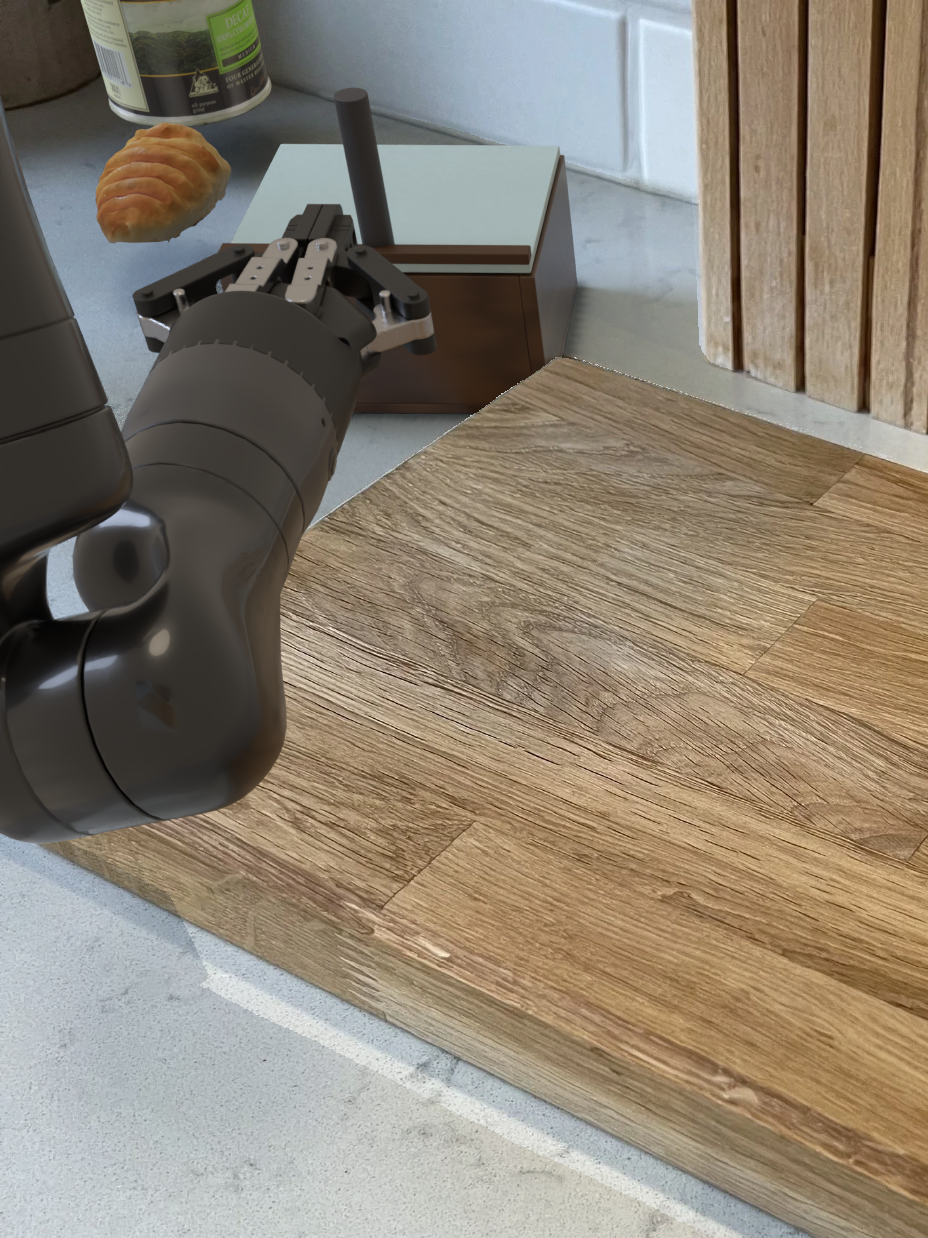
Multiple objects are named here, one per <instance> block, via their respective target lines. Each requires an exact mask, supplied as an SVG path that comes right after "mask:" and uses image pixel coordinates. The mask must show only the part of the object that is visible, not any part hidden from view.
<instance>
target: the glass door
mask: <svg viewBox="0 0 928 1238" xmlns="http://www.w3.org/2000/svg"><path fill="white" fill-rule="evenodd" d="M333 100H334V106H335V111H336V117H337V121H338V126H339V133H340V135H341V136H340V137H341V141H342V142H341V144H340V143H339V144H335V143H333V144H332V143H331V144H327V143H326V144H325V143H320V144H319V143H281V144H280V145H279V147H278V149H277V150H276V153H275V155H274V156H273V158H272V161H271V162H270V164H269V167H268V168H267V171H266V172H265V174H264V176H263V179H262V180H261V182H260V184H259V186H258V188H257V190H256V192H255V194H254V196H253V198H252V200H251V202H250V204H249V206H248V208H247V210H246V212H245V213H244V216H243V218H242V220H241V222H240V224H239V226H238V228H237V230H236V232H235V234H234V235H233V238H232V240H231V242H223V243H221V245H220V247H219V249H218V251H217V253H218V252H221V251H223V250H225V249H227V248H229V247H232V246H235V245H249V246H251V247H253V249H254V254H257V253H263V252H265V251H266V249H267V248H268V246H269V245H270V243H271V242H272V241H274V240H277V239H280V238H282V236H283V234H284V232H285V231H286V227H287V226H288V223H289V221H290V219H292V218H293V217H294V216H296V215H297V214H303V212H304V210H305V208H306V206H307V204H340V205H341V206H342V210H343V215H351V217H352V219H353V223H354V228H355V233H356V238H357V243H358V246H369V247H372V248H373V249H374V250H376V251H377V252H378V253H379V254H381V255H382V256H383V257H384V258H385V259H387V260H388V261H389V262H390V263H392V264H393V265H394V266H395V267H396V268H398V269H399V270H400V271H401V272H448V273H531V270H532V266H533V262H534V258H535V254H536V250H537V245H538V241H539V237H540V233H541V229H542V225H543V221H544V217H545V213H546V209H547V205H548V201H549V197H550V193H551V189H552V185H553V181H554V177H555V173H556V168H557V164H558V160H559V156H560V155H561V149H560V146H559V145H498V144H497V145H491V144H490V145H486V144H485V145H481V144H480V145H479V144H478V145H477V144H475V145H474V144H471V145H470V144H469V145H468V144H467V145H466V144H454V145H453V144H378V143H377V138H376V137H377V136H376V132H375V125H374V120H373V115H372V110H371V103H370V97H369V93H368V91H367V90H365V89H363V88H359V87H346V88H342V89H339V90H337V91H335V92H334V94H333Z"/></svg>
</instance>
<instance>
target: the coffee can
mask: <svg viewBox="0 0 928 1238" xmlns="http://www.w3.org/2000/svg"><path fill="white" fill-rule="evenodd" d="M80 3H81V6H82V10H83V13H84V17H85V20H86V23H87V27H88V30H89V34H90V37H91V41H92V43H93V47H94V51H95V54H96V58H97V62H98V65H99V68H100V72H101V76H102V79H103V82H104V85H105V90H106V94H107V97H108V105H109V107H110V110H111V111H112V112H113V113H114V114H116V115H117V116H118V117H119V118H121V119H123V120H125V121H127V122H130V123H133V124H137V125H140V126H147V127H151V128H152V127H154V126H155V125H158V124H161V123H173V124H181V125H184V126H187V127H190V128H192V127H193V128H194V127H200V126H206V125H207V126H208V125H211V124H217V123H221V122H224V121H228V120H231V119H234V118H236V117H239V116H243V115H244V114H247V113H249V112H250V111H253V110H254V109H256V108H258V107H259V106H260V105H261V104H263V103H264V102H265V100H266V99H267V98H268V97H269V95H270V94H271V91H272V81H271V79H270V77H269V74H268V73H269V72H268V69H267V64H266V60H265V55H264V51H263V45H262V41H261V37H260V33H259V32H260V31H259V28H258V22H257V18H256V13H255V9H254V5H253V0H80Z"/></svg>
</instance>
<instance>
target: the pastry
mask: <svg viewBox="0 0 928 1238" xmlns="http://www.w3.org/2000/svg"><path fill="white" fill-rule="evenodd" d="M125 143H126V144H125V146H124V147H123V148H122V149H121V150H118V151H116V152H115V153H114V154H113V155H112V157H110V158H109V159H108V160H107V162H106V163H105V166H104V169H103V171H102V174H101V175H100V176H99V179H98V184H97V186H96V188H95V200H94V201H95V204H96V205H95V206H96V210H97V212H96V222H97V224H98V225H99V227H100V229H101V232H102V234H103V236H104V237H105V238H106V240H107V242H108V243H109V244H115V243H126V244H127V243H128V244H140V243H141V244H142V243H144V244H145V243H162V242H168V243H170V241H171V239H177V238H179V237H180V236H181V234H182V233H183V232H184V231H186V230H188V229H191V228H193V227H195V226H197V225H198V224H199V223H200V222H201V221H203V220H204V219H205V218H206V217H208V215H210V214H211V212H212V211H213V210H214V209H215V208H216V205H217V203H218V202H219V201H222V200H223V199H224V198H225V196H226V189H227V186H228V185H229V182H230V177H231V175H232V167H231V165H230V163H229V162H228V161H227V160H226V159H225V158H223V156H221V155H220V153H219V151H218V149H216V147H214V145H212V144H211V143H210V142H208V140H206V139H205V137H204V135H203V134H202V133H201V132H200V131H198V130H196V129H195V128H194V127H193V128H192V127H187V126H184V125H181V124H173V123H161V124H158V125H155V126H154V127H152V126H151V127H150V128H146V129H144V128H141V129H137V130H136V131H135V133H134V136H133V137H131V138H129V139H128V140H127V141H126V142H125Z"/></svg>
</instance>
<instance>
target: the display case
mask: <svg viewBox="0 0 928 1238" xmlns="http://www.w3.org/2000/svg"><path fill="white" fill-rule="evenodd" d="M569 195H570V194H569V186H568V175H567V167H566V157H565V155H564V154H560V156H559V160H558V164H557V168H556V173H555V177H554V181H553V185H552V189H551V193H550V197H549V201H548V205H547V209H546V213H545V217H544V221H543V225H542V229H541V233H540V237H539V241H538V245H537V250H536V254H535V258H534V262H533V266H532V270H531V273H448V272H403V273H404V274H405V275H406V276H407V277H409V278H410V279H411V280H412V281H414V282H415V283H416V284H417V285H418V286H420V287H421V288H422V289H423V290H424V291H426V292H427V293H428V297H429V303H430V309H431V315H432V321H433V327H434V333H435V339H436V345H437V348H436V350H435V351H434V352H432V353H430V354H427V355H414V354H412V353H410V352H409V351H408V350H407V349H406V348H404V347H403V346H402V345H399V346H396V347H394V348H391V349H388V350H385V351H382V352H381V360H380V363H379V365H378V367H377V368H376V369H375V370H374V371H373V372H372V373H370V374H369V375H368V376H366V377H365V378H364V379H363V380H362V381H361V383H360V386H359V392H358V396H357V401H356V405H355V409H354V412H353V414H354V413H357V414H358V413H362V414H364V413H366V414H367V413H368V414H372V413H373V414H478V413H477V412H479V410H481V409H482V408H484V407H485V406H486V405H488V404H490V402H492V401H493V400H495V399H496V397H498V396H499V395H501V393H504V392H505V391H507V390H509V389H510V388H511V387H513V386H515V385H517V383H520V381H522V380H525V379H526V378H528V377H529V376H531V375H532V374H534V373H535V372H536V371H538V370H540V369H541V368H542V367H543V366H545V365H546V364H548V363H549V362H550V361H551V360H553V359H555V357H561V356H563V357H564V354H565V348H566V343H567V339H568V338H567V337H568V333H569V329H570V323H571V319H572V314H573V309H574V304H575V299H576V295H577V290H578V275H577V266H576V265H577V264H576V256H575V255H576V254H575V244H574V237H573V235H574V234H573V225H572V217H571V207H570V206H571V205H570V198H569V197H570V196H569ZM219 281H220V284H221V285H220V286H221V289H222V293H223V292H225V291H226V289H227V287H228V286H229V284H231V283H233V280H232V276H231V275H229V276H227V277H224V278H222V279H220V280H219ZM346 297H347V298H348V299H349V300H350V301H351V302H352V303H353V304H354V305H355V306H356V307H357V304H356V299H355V298H353V297H348V296H346ZM357 308H358V307H357ZM358 309H359V310H360V311H361V312H362V313H363V314H364V315H365V316H366V317H367V318H368V319H369V320H370V321H371V322H372V321H373V320H372V319H371V318H370V317H369V316H368V315H366V314H365V313H364V312H363V311H362V310H361V309H360V308H358Z"/></svg>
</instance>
